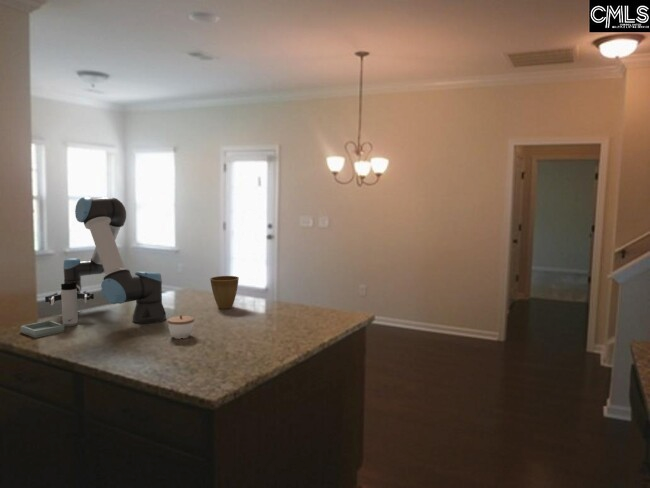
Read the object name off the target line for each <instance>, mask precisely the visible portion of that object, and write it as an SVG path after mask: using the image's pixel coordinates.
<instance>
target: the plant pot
mask: <svg viewBox="0 0 650 488" xmlns="http://www.w3.org/2000/svg"><path fill="white" fill-rule="evenodd" d="M209 280H210V286H211V290H212V295H213V298H214V300H215V303H216V305H217V308H218V309H224V310H226V309H231V308H232V307H233V306H234V302H235V300H236V296H237V291H238V286H239V276H233V275H220V276H219V275H218V276H213V277H211V278H210V279H209Z"/></svg>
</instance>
